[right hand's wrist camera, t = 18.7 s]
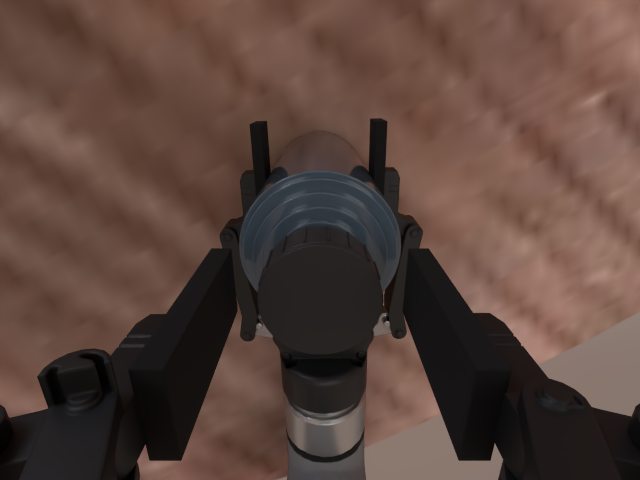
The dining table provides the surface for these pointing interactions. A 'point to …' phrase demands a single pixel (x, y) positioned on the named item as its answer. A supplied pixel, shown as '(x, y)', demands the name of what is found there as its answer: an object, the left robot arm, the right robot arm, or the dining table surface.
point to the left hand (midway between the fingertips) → (318, 121)
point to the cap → (320, 291)
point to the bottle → (320, 204)
